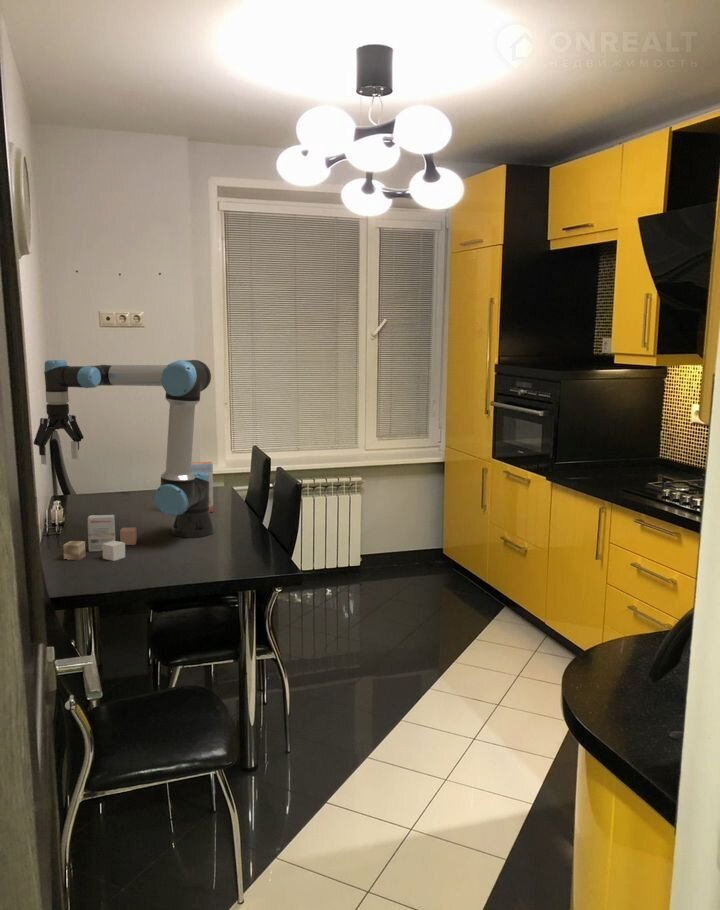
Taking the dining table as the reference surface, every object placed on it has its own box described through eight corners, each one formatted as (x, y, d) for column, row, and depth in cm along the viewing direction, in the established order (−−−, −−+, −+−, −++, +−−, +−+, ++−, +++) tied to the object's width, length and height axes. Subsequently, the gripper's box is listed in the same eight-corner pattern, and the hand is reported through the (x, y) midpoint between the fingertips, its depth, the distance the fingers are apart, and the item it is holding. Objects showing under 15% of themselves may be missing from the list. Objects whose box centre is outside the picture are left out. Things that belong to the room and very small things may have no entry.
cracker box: (212, 509, 313) (212, 461, 309) (213, 512, 307) (213, 463, 303) (178, 510, 309) (177, 461, 306) (178, 514, 303) (178, 464, 300)
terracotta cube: (136, 540, 263) (136, 527, 262) (135, 544, 258) (134, 531, 257) (122, 541, 262) (121, 527, 261) (120, 545, 257) (120, 531, 256)
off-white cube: (125, 557, 244) (124, 542, 243) (113, 561, 239) (113, 546, 239) (114, 554, 246) (114, 540, 245) (102, 558, 242) (102, 543, 241)
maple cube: (85, 556, 244) (85, 541, 243) (78, 560, 239) (78, 545, 238) (71, 555, 244) (70, 540, 244) (63, 559, 239) (63, 545, 239)
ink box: (115, 546, 255) (114, 513, 253) (114, 550, 250) (114, 517, 248) (89, 548, 253) (88, 514, 251) (88, 552, 248) (87, 518, 246)
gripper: (77, 400, 277) (79, 455, 280) (20, 405, 255) (23, 465, 258) (91, 401, 273) (94, 457, 277) (35, 406, 251) (38, 467, 255)
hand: (60, 461), depth 267 cm, fingers open, 13 cm apart
